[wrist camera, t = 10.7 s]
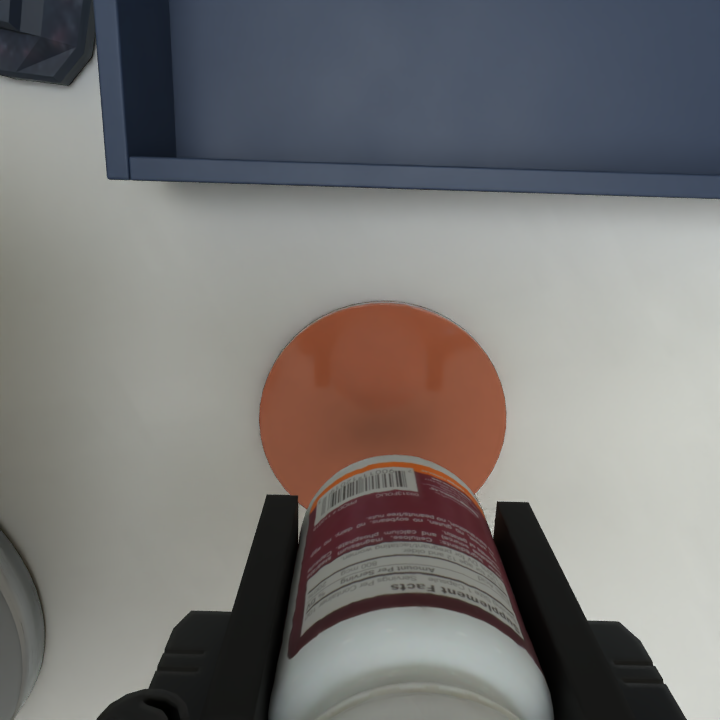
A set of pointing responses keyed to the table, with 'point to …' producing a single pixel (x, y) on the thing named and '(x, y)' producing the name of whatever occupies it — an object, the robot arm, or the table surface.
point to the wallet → (45, 39)
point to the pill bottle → (402, 606)
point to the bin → (415, 94)
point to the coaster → (380, 397)
